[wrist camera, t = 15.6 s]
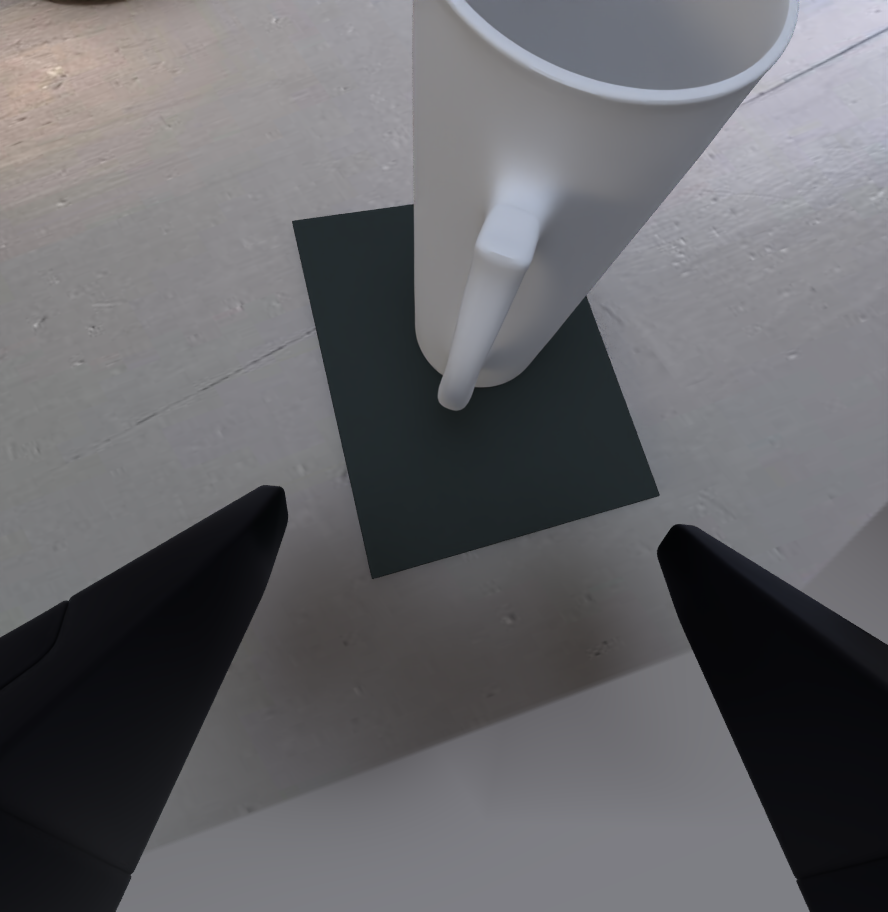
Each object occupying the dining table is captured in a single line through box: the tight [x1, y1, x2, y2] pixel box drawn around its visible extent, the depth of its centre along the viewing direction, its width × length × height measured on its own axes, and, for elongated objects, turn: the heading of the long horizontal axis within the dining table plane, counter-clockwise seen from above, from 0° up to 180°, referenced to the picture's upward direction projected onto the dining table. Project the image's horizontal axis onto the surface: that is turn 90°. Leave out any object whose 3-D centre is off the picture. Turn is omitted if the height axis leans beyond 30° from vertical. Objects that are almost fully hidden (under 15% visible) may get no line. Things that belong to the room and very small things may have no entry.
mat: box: [292, 204, 660, 579], centre depth 17 cm, size 18×14×1 cm
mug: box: [412, 0, 799, 411], centre depth 11 cm, size 10×7×12 cm, turn 161°
